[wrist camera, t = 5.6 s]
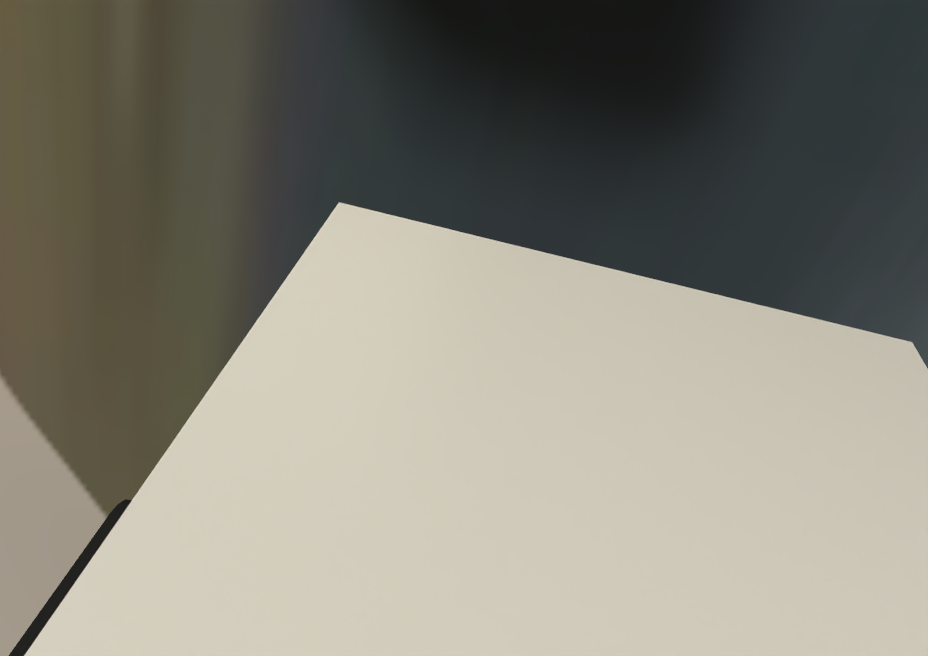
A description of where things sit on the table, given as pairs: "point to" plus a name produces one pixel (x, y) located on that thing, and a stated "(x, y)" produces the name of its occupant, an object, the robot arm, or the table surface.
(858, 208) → the table surface
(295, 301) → the plain off-white cube
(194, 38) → the table surface
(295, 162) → the table surface
